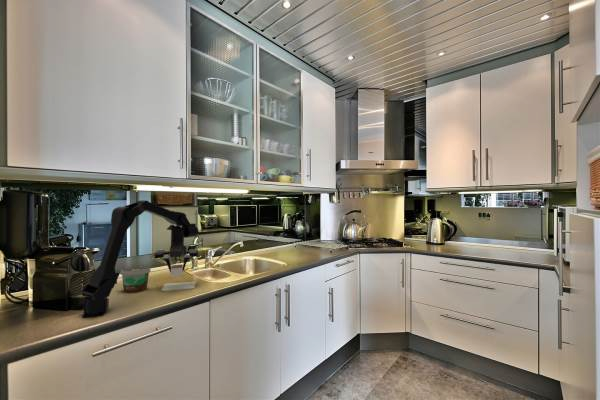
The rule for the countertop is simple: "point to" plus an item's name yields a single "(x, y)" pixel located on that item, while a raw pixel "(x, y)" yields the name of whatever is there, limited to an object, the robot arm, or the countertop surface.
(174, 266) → the card deck
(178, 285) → the sage mat
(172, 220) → the robot arm
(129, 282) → the food container
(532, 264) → the countertop surface
